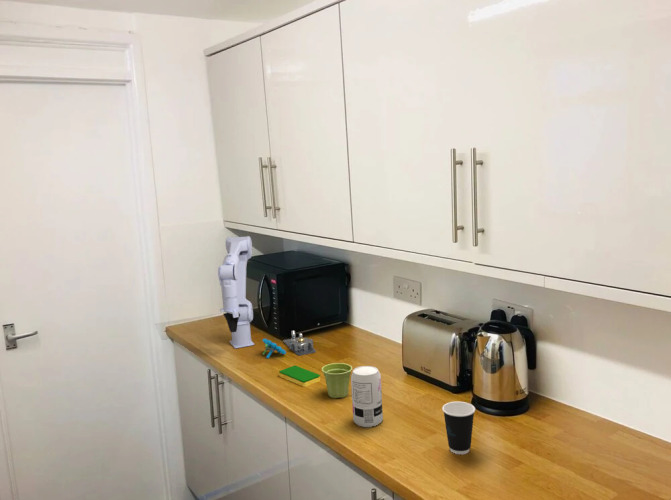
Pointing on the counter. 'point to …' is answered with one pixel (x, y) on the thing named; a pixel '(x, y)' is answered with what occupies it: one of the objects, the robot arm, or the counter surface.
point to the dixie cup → (459, 426)
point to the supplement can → (366, 396)
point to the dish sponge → (299, 376)
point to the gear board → (300, 344)
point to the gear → (272, 348)
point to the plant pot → (337, 379)
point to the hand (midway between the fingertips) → (233, 331)
